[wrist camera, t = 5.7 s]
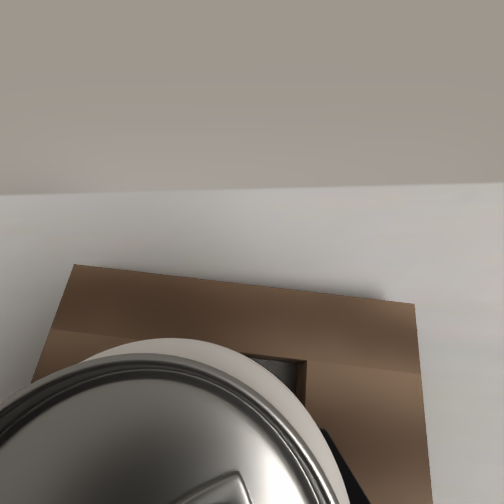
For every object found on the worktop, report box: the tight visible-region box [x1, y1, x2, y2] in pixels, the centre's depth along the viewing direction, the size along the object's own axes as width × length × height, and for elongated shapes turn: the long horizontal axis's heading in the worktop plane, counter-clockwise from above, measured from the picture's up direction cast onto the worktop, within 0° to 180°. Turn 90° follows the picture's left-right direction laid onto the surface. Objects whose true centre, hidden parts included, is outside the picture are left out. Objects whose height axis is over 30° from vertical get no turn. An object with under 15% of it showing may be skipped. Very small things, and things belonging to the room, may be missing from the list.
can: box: [0, 338, 350, 504], centre depth 9 cm, size 6×6×12 cm
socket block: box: [31, 264, 433, 504], centre depth 15 cm, size 12×18×3 cm, turn 83°
